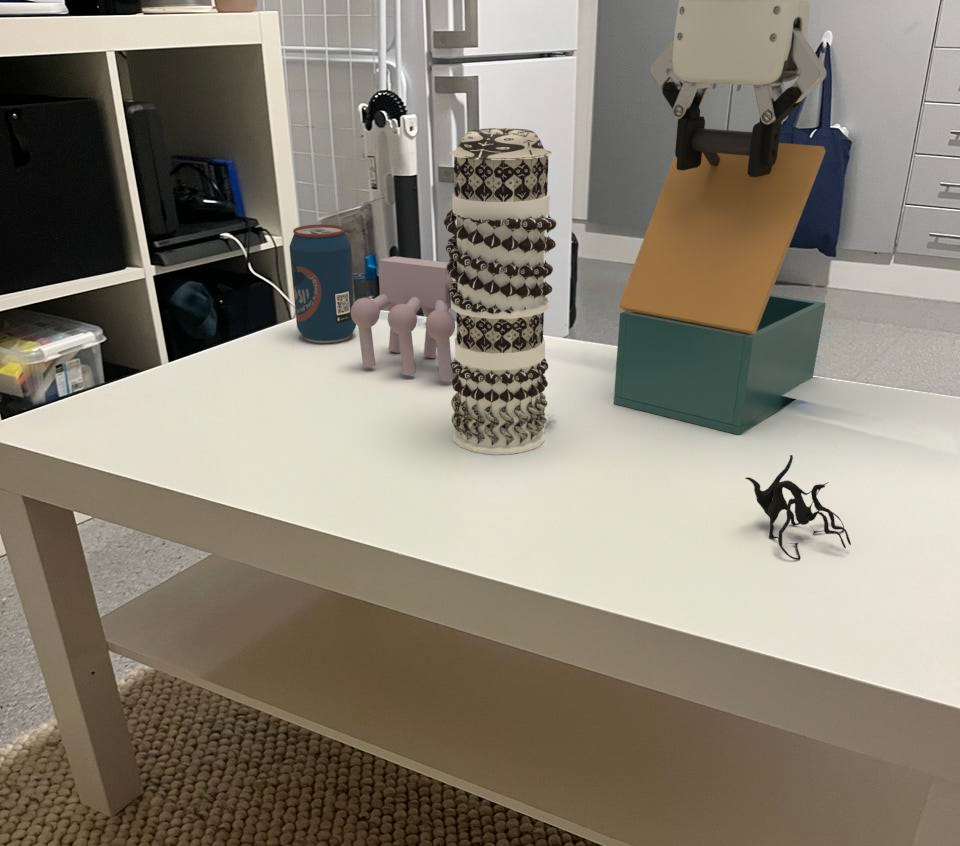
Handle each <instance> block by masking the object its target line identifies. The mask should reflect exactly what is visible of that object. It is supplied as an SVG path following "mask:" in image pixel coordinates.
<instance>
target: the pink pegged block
mask: <svg viewBox="0 0 960 846" xmlns="http://www.w3.org/2000/svg"><path fill="white" fill-rule="evenodd" d="M450 259H451V258H450V257H449V260H450ZM448 263H449V262H446V261H437V260H431V259H430V260H429V259H422V258H412V257H406V256H405V257H403V256H396V255H395V256H394V255H393V256H390V257H386V258H382V259H378V279H379V280H378V283H379V284H378V285H379V295H377V296H376V297H375V298H373V299H371V298H368V297H362V298H359V299H357V300H355V303H354V304H353V305H352V308H351V317H352V320H353V321H354V323H355V324H356V326H357V328H358V336H359V344H360V345H359V346H360V352H361V361H362V367H363V368H370V367H374V366H375V365H376V357H375V356H376V355H375V348H374V341H373V340H374V339H373V332H372V327H374V326H375V325H376V324H377V323H378V321H379V319H380V313H381V311H383V310H384V309H387V310H388V311H389V312H388V315H387V324H388V326H389V340H388V351H389V352H391V353H397V354H398V353H399V354H400V361H401V370H402V375H404V376H409V375H412V374H415V373H416V362H415V353H414V344H413V333H412V332H413V331H414V330H415V329H416V328H417V327H416V326H417V324H418V316H417V313H418V312H419V311H420V310H421V311H422V314H423V315H424V316H425V317H426V320H425V334H424V335H425V336H424V348H423V356H424V357H426V358H430V359H436V358H437V365H438V376H439V381H440V382H448V381H449V382H450V381H452V379H453V378H454V377H453V376H454V375H453V371H452V368H451V362H452V352H451V341H450V338H451V337H452V336H453V334H454V333H455V330H456V319H455V317H454V316H453V314H452V313H451V312H449V310H450V309H451V297H450V296H449V290H450V288H451V284H452V283H453V282H455V281H456V280H455V279H454V278H452V277H450V276H449V274H448V270H447V268H446V267H447V264H448Z"/></svg>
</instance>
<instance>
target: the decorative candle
mask: <svg viewBox="0 0 960 846" xmlns="http://www.w3.org/2000/svg"><path fill="white" fill-rule="evenodd" d="M551 155H553V153H552V151H551V150H547V149H545V148H544V145H543V143H542V140H541V139H540V137H539V135H538V134H537V133H536V132H535V131H533V130H529V129H525V128H512V127H511V128H510V127H491V128H490V127H489V128H479V129H478V128H477V129H473V130H472V129H471V130H469V131H467V132H465V133H464V134H463V136H462V137H461V140H460V141H459V144H458V146H457V148H455V150H453V151H449V156H452V157H453V183H454V185H453V186H454V187H453V190H454V192H452V193H451V194H452V195H451V197H452V198H451V199H452V209H450V210H449V211H448V212H447V214H446V215H445V216H446V217H444V219H443V225H444V226H445V230H446V231H447V232H448V233H450V234H452V237H450V238H448V239H447V244H446V246H445V251H446V253H448V256H449V262H447V263H448V264H447V267H446V268H447V270H448V274H449V276H450V277H452V278H454V279H455V280H456V281H455V282H453V283H452V284H451V288H450V290H449V296H450V297H451V308H450V309H451V310H452V311H453V312H456V313H455V317H456V319H455V327H456V337H455V338H454V359H453V360H451V368H452V374H454V375H455V376H454V377H453V378H452V379H451V380H450V381H451V386H452V390H453V391H455V392H456V393H455V394H454V395H453V396H452V398H451V401H450V404H451V408H452V409H453V413H452V415H451V423H452V425H453V428H454V429H453V431H452V432H453V434H452V435H453V442H454V443H456V445H457V446H458V447H460V448H462V449H465V450H468V451H470V452H473V453H478V454H486V455H514V454H521V453H525V452H529V451H532V450H533V449H536V448H539V447H540V446H541V445H543V443H544V442H545V441H546V434H545V430H544V428H545V424H546V423H547V422H548V419H547V418H546V413H545V411H546V408H547V406H548V403H549V402H548V401H547V400H546V398H547V397H546V394H545V393H544V391H545V390H546V388H547V387H548V386H549V385H548V384H549V382H548V381H547V377H546V376H545V374H546V371H548V369H549V363H548V361H547V359H546V358H545V356H546V355H545V354H546V341H545V338H544V321H545V317H544V316H545V312H547V310H548V309H550V305H551V304H550V301H549V298H548V297H547V295H550V294H551V293H552V292H553V286H551V285H550V284H549V283H547V281H546V280H544V279H546V278H547V277H548V276H550V275H551V274H552V273H553V272H554V268H553V265H551V264H549V263H548V262H547V259H545V255H546V254H547V253H549V252H550V251H552V250H553V249H554V248H556V243H557V242H556V241H555V240H554V239H552V238H551V237H550V236H549V235H547V236H546V235H545V234H549V233H550V232H551V231H553V230H554V229H555V228H556V227H557V221H556V219H554V218H552V217H551V216H550V196H551V195H550V193H549V192H548V184H549V156H551ZM546 216H547V217H546ZM450 258H451V259H450Z"/></svg>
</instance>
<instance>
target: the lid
mask: <svg viewBox="0 0 960 846" xmlns="http://www.w3.org/2000/svg"><path fill="white" fill-rule="evenodd" d="M751 139H752V131H744V130H729V129H715V128H697V129H696V130H695V131H694V133H693V136H692V149H693V150H694V151H700V152H702V158H701V164H700V166H698V167H697V168H692V169H688V170H684V171H683V170H677V167H676V165H677V158H676V155H675V154H674V157H673V160H672V162H671V165H670V168H669V171H668V173H667V176H666V179H665V181H664V183H663V186H662V190H661V192H660V194H659V197H658V199H657V202H656V205H655V207H654V210H653V213H652V216H651V218H650V221H649V223H648V226H647V228H646V232H645V235H644V237H643V240H642V243H641V245H640V248H639V250H638V254H637V256H636V259H635V261H634V264H633V267H632V268H631V269H632V270H631V271H630V274H629V277H628V280H627V282H626V285H625V288H624V291H623V294H622V296H621V298H620V301H619V304H618V307H619V308H620V309H621V310H623V311H632V312H637V313H643V314H648V315H653V316H659V317H664V318H669V319H674V320H680V321H685V322H690V323H696V324H701V325H706V326H711V327H717V328H722V329H727V330H733V331H738V332H743V333H748V334H754V335H755V333H756V331H757V328H758V326H759V323H760V320H761V318H762V315H763V313H764V310H765V307H766V305H767V302H768V300H769V297H770V295H771V294H772V292H773V289H774V287H775V284H776V282H777V279H778V276H779V273H780V271H781V268H782V266H783V264H784V261H785V258H786V255H787V253H788V250H789V248H790V245H791V243H792V240H793V238H794V235H795V232H796V229H797V227H798V225H799V222H800V219H801V218H802V214H803V212H804V209H805V207H806V203H807V201H808V199H809V196H810V193H811V190H812V188H813V185H814V183H815V181H816V178H817V175H818V173H819V170H820V167H821V165H822V162H823V160H824V157H825V155H826V149H825V146H823V145H812V144H811V145H810V144H800V143H799V144H798V143H797V144H796V143H785V142H784V143H783V142H779V145H778V153H777V159H776V162H775V164H774V165H773V166H772V170H771V172H770V174H767V175H763V176H760V177H750V176H749V175H748V173H747V172H748V163H749V155H750V147H751Z"/></svg>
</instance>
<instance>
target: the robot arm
mask: <svg viewBox="0 0 960 846" xmlns="http://www.w3.org/2000/svg"><path fill="white" fill-rule="evenodd" d="M810 7H811V0H678V5H677V11H676V20H675V27H674V36H673V38H672V39H671V40H670V42H669V43H668V44H667V45H666V46H665V47H664V49H663V50H662V51H661V52H660V53H659V55H658V56H657V57H656V58H655V60H654V61H653V62H652V63H651V65H650V66H649V73H650V75H651V77H652V78H653V80H654V81H655V83H656V84H657V86H658V87H659V88H660V89H661V90H662V91H661V93H662V95H663V97H664V98H665V100H666V101H667V103H668V105H669V106H670V108H671V109H672V115H673V117H674V118H675V119H677V126H676V136H675V137H676V139H675V150H674V156H675V155H676V158H677V165H676V167H677V170H683V171H684V170H688V169H692V168H697V167H698V166H700V164H701V158H702V152H700V151H694V150H693V149H692V136H693V133H694V131H695V130H696V129H697V128H704V129H706V128H705V127H706V119H705V116H701V110H702V107H703V105H704V103H705V101H706V99H707V97H708V94H709V92H710V89H711V88H712V85H714V84H716V85H718V84H719V85H739V86H740V85H741V86H753V89H754V93H755V98H756V103H757V108H758V113H759V123H755V124H754V125H753V126H752V131H751V132H752V139H751V147H750V155H749V163H748V172H747V173H748V175H749V176H750V177H760V176H763V175H767V174H770V172H771V170H772V166H773V165H774V164H775V162H776V159H777V153H778V145H779V143H780V136H781V131H782V130H781V129H782V123H783V122H785V121H787V119H788V118H789V115H790V114H792V113H793V111H795V109H796V108H798V107H799V106H800V105H801V103H802V102H804V100H805V99H806V97H807V96H808V95H809V94H811V93H812V92H813V91H814V90H815V89H816V88H817V87H818V86H819V85H820V84H821V83H822V82H823V81H824V80H825V79H826V77H827V73H828V72H827V69H826V67H825V66H824V64H823V62H822V61H821V60H820V58H819V57H818V55H817V54H816V52H815V51H814V49H813V48H812V46H811V45H810V43H809V41H808V34H809V21H810ZM679 80H680V81H679ZM794 80H795V81H794ZM682 81H683V82H682ZM791 81H794V83H793V84H792V85H791V86H789V87H788V88H786V89H785V86H784V83H786V82H791Z"/></svg>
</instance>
